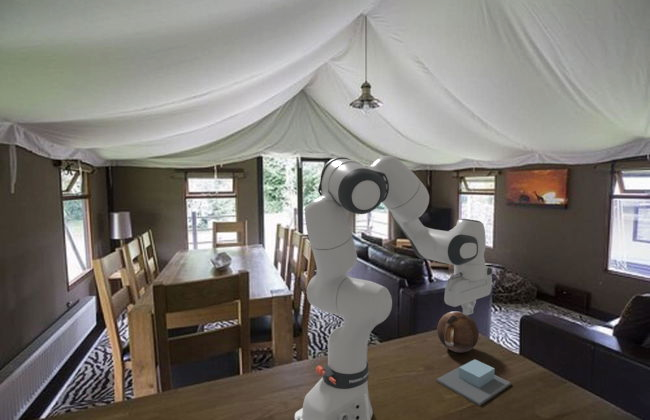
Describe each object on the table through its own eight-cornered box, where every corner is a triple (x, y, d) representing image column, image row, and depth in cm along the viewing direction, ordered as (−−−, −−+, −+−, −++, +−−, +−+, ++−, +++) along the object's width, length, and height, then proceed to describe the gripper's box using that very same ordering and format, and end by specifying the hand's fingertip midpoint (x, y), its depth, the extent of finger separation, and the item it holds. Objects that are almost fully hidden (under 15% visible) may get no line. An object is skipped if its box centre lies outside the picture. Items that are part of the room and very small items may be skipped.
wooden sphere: (457, 338, 140) (457, 303, 139) (487, 355, 126) (488, 316, 125) (428, 345, 134) (429, 309, 133) (456, 363, 120) (457, 323, 119)
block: (479, 377, 104) (494, 368, 109) (459, 367, 110) (474, 359, 115) (478, 388, 104) (494, 378, 109) (459, 377, 110) (474, 368, 115)
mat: (479, 405, 97) (479, 403, 97) (436, 381, 109) (436, 378, 109) (510, 384, 107) (510, 382, 107) (468, 364, 119) (468, 362, 119)
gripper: (458, 278, 95) (457, 325, 96) (496, 267, 106) (495, 309, 107) (439, 273, 100) (438, 318, 101) (477, 264, 111) (476, 304, 112)
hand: (468, 313), depth 104 cm, fingers closed
